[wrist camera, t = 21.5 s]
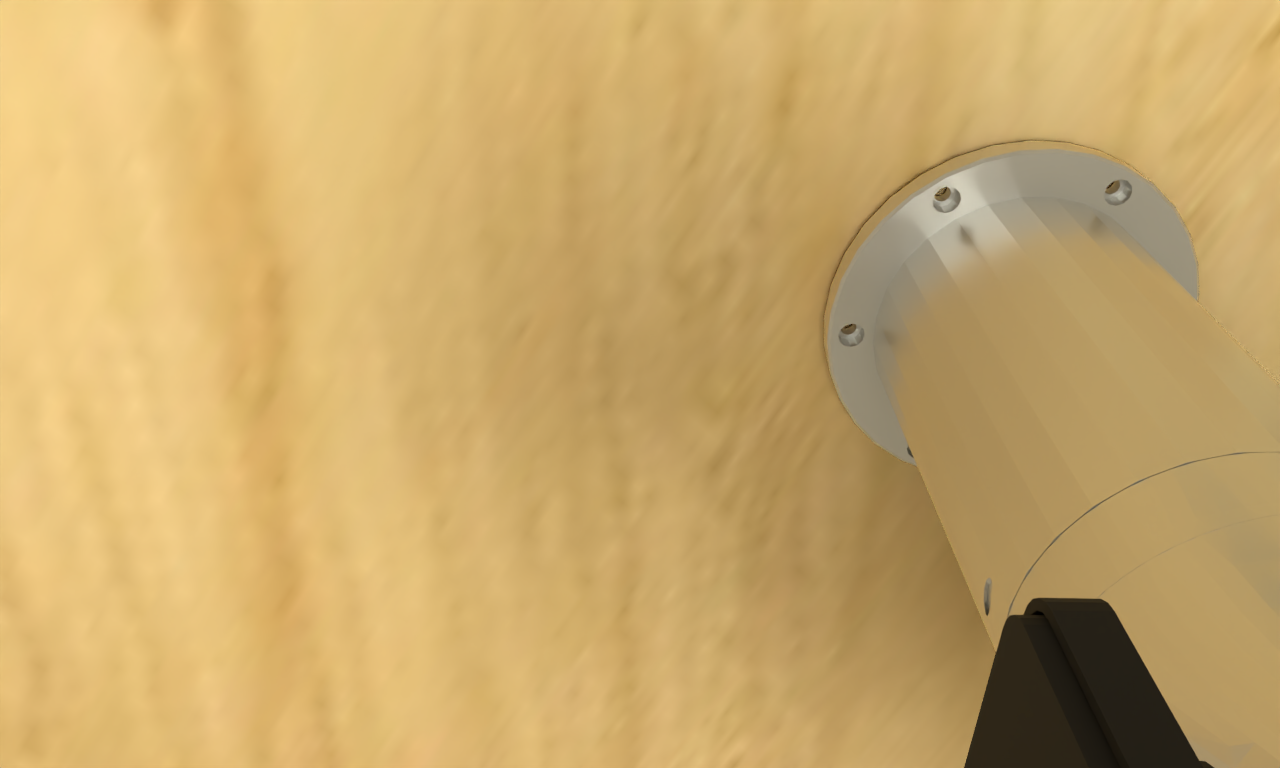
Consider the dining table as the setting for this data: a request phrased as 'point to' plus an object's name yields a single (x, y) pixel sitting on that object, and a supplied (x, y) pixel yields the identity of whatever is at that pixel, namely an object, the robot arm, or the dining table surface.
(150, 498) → the dining table surface
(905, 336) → the robot arm
